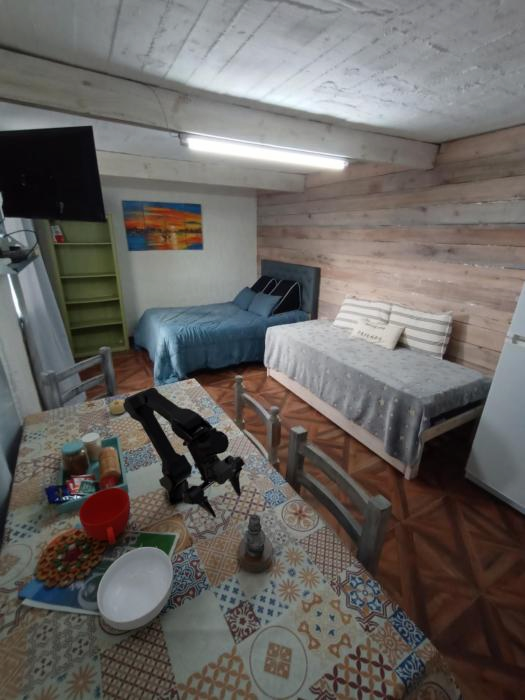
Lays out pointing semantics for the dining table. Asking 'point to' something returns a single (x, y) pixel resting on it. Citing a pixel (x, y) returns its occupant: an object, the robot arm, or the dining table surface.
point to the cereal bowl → (135, 588)
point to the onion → (117, 406)
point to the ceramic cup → (105, 514)
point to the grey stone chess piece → (254, 537)
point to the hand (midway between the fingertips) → (227, 506)
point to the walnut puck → (255, 558)
